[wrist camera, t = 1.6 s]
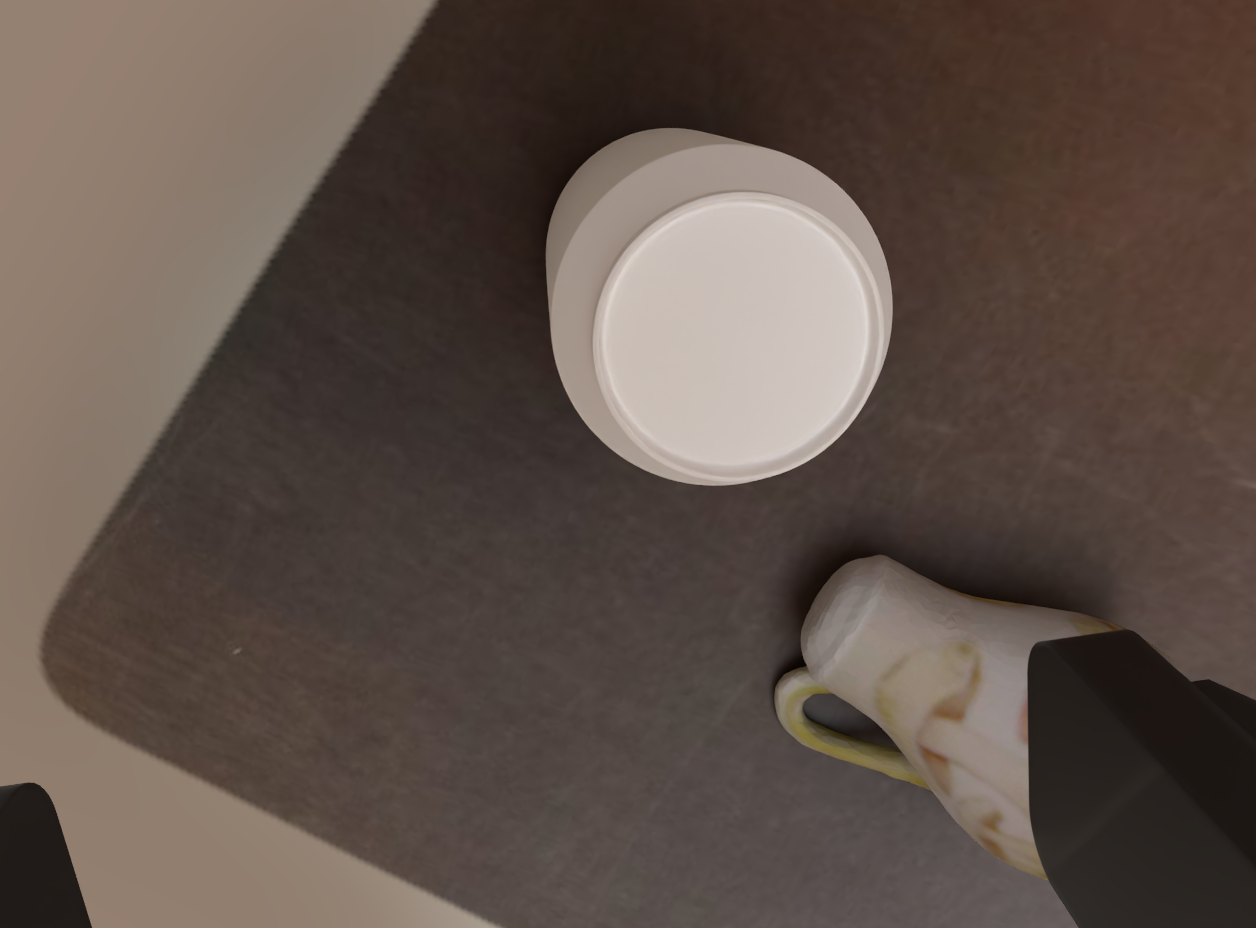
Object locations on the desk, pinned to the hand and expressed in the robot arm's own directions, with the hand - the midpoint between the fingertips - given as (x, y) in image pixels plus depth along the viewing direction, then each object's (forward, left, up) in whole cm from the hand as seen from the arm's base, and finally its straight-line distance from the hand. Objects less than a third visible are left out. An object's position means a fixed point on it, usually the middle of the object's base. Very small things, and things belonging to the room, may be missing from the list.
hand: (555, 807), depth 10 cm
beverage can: (0, +4, -23) cm, 23 cm away
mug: (+14, +8, -23) cm, 28 cm away
